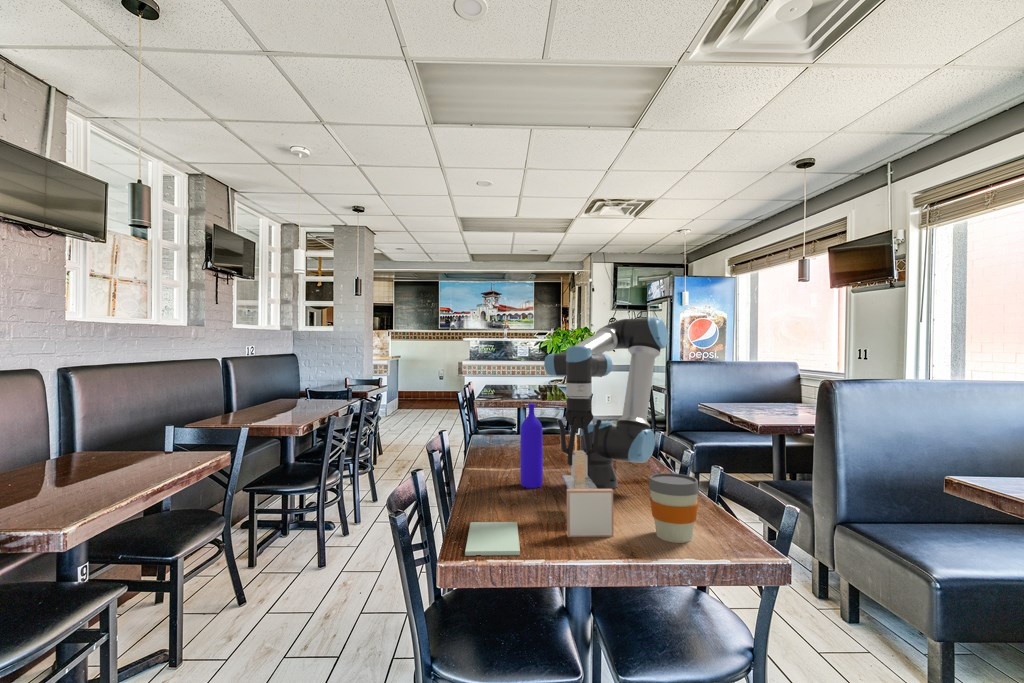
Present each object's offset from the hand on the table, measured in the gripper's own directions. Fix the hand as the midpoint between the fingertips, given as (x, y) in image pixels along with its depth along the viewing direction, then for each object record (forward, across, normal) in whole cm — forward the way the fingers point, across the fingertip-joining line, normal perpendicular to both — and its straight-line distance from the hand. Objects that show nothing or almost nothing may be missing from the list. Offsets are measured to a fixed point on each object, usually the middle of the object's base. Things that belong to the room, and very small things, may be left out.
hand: (579, 475), depth 141 cm
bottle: (+12, -12, +33) cm, 37 cm away
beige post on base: (+3, 0, 0) cm, 3 cm away
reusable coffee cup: (+12, +22, -17) cm, 30 cm away
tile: (+12, 0, -16) cm, 20 cm away
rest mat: (+12, -25, -18) cm, 33 cm away
